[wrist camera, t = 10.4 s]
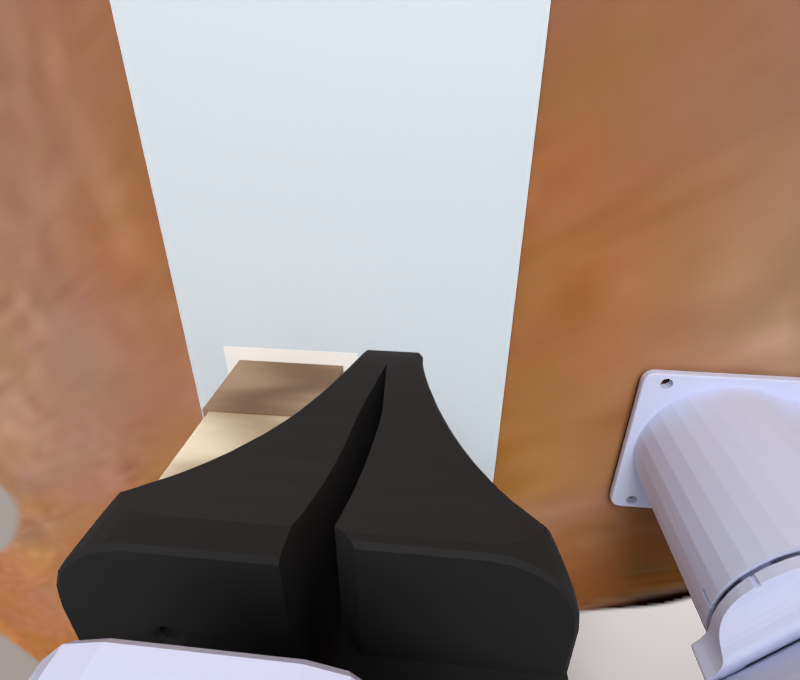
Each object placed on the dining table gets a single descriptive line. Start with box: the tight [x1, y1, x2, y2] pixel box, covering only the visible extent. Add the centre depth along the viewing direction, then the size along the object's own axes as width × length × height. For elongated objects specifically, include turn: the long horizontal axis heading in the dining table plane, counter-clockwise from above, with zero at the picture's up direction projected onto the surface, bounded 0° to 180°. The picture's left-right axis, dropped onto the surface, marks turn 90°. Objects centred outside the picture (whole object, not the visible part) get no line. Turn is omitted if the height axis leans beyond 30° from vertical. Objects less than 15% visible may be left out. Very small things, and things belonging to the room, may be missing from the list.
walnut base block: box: [202, 360, 344, 417], centre depth 23 cm, size 5×5×4 cm
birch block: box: [159, 412, 290, 480], centre depth 19 cm, size 4×4×5 cm
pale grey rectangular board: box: [110, 0, 551, 483], centre depth 22 cm, size 15×22×1 cm
